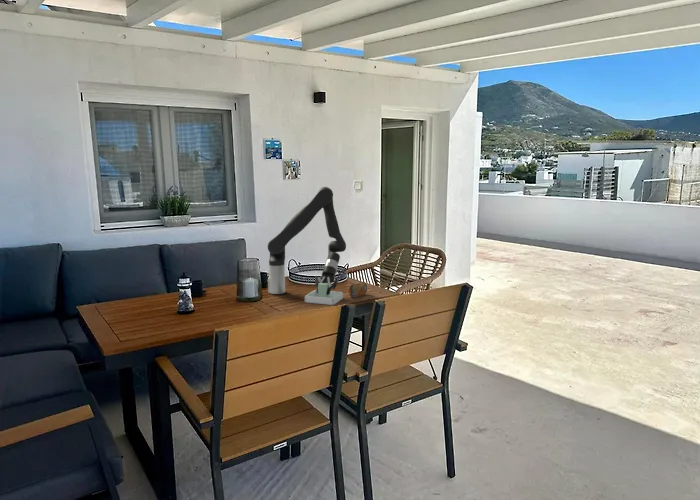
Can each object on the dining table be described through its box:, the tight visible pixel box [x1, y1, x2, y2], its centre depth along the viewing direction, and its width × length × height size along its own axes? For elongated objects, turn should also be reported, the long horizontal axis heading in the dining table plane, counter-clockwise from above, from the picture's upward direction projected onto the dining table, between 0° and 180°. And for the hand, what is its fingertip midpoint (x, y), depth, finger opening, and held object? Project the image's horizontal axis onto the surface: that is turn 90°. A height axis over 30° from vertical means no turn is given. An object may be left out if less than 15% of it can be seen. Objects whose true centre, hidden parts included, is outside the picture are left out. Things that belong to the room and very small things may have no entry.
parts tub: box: [304, 289, 344, 306], centre depth 272 cm, size 17×15×4 cm
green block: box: [318, 282, 330, 298], centre depth 271 cm, size 5×5×9 cm
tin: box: [348, 281, 368, 299], centre depth 282 cm, size 15×3×8 cm, turn 143°
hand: (322, 293), depth 270 cm, fingers closed on green block, 5 cm apart
